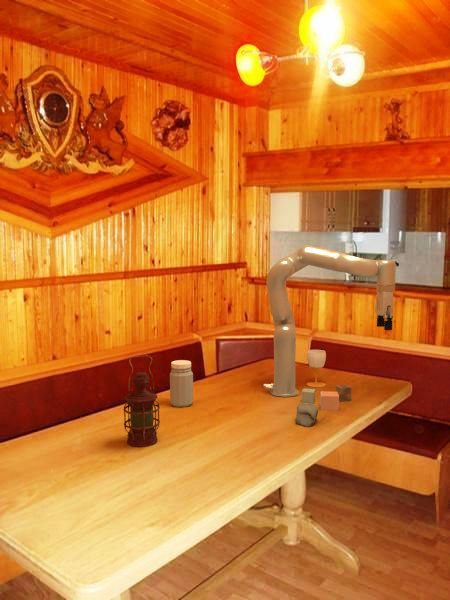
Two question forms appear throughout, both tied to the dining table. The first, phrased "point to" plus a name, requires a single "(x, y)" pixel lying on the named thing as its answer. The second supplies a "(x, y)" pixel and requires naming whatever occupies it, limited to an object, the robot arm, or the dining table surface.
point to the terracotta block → (329, 401)
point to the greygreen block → (308, 396)
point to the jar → (181, 383)
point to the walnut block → (344, 392)
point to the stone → (306, 414)
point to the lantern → (141, 411)
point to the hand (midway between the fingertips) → (384, 328)
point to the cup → (316, 364)
